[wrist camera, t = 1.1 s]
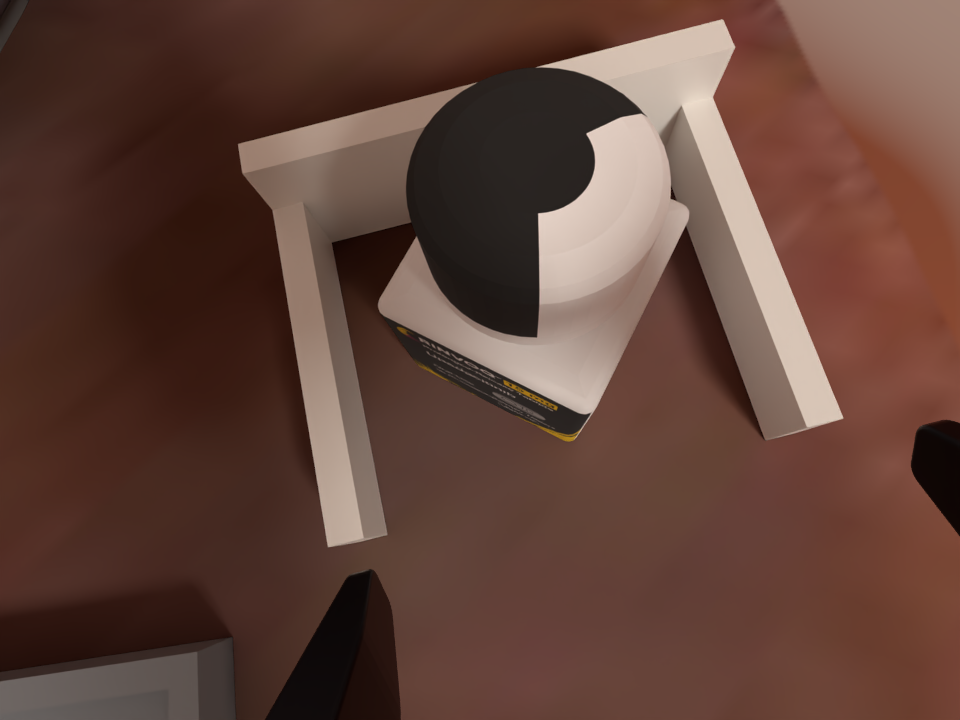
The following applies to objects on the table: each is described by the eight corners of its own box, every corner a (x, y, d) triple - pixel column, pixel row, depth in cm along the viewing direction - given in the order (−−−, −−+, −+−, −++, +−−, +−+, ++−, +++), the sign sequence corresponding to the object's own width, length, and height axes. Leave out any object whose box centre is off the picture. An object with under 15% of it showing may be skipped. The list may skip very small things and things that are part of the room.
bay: (795, 433, 23) (889, 404, 17) (357, 542, 23) (300, 552, 17) (679, 128, 26) (723, 19, 20) (300, 225, 26) (238, 144, 21)
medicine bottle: (413, 365, 24) (314, 230, 13) (494, 222, 26) (469, -16, 14) (572, 446, 23) (618, 377, 12) (648, 291, 25) (759, 91, 13)
